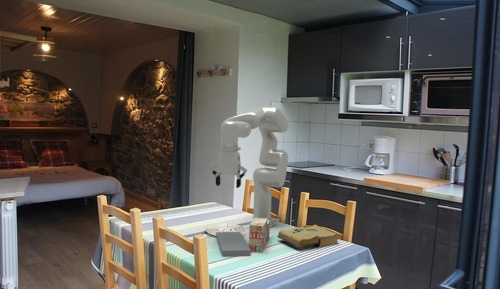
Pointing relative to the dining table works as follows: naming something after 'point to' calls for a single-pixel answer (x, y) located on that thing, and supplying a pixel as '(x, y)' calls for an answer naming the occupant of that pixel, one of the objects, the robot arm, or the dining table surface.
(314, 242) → the book
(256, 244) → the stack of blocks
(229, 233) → the grey plinth
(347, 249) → the dining table surface
